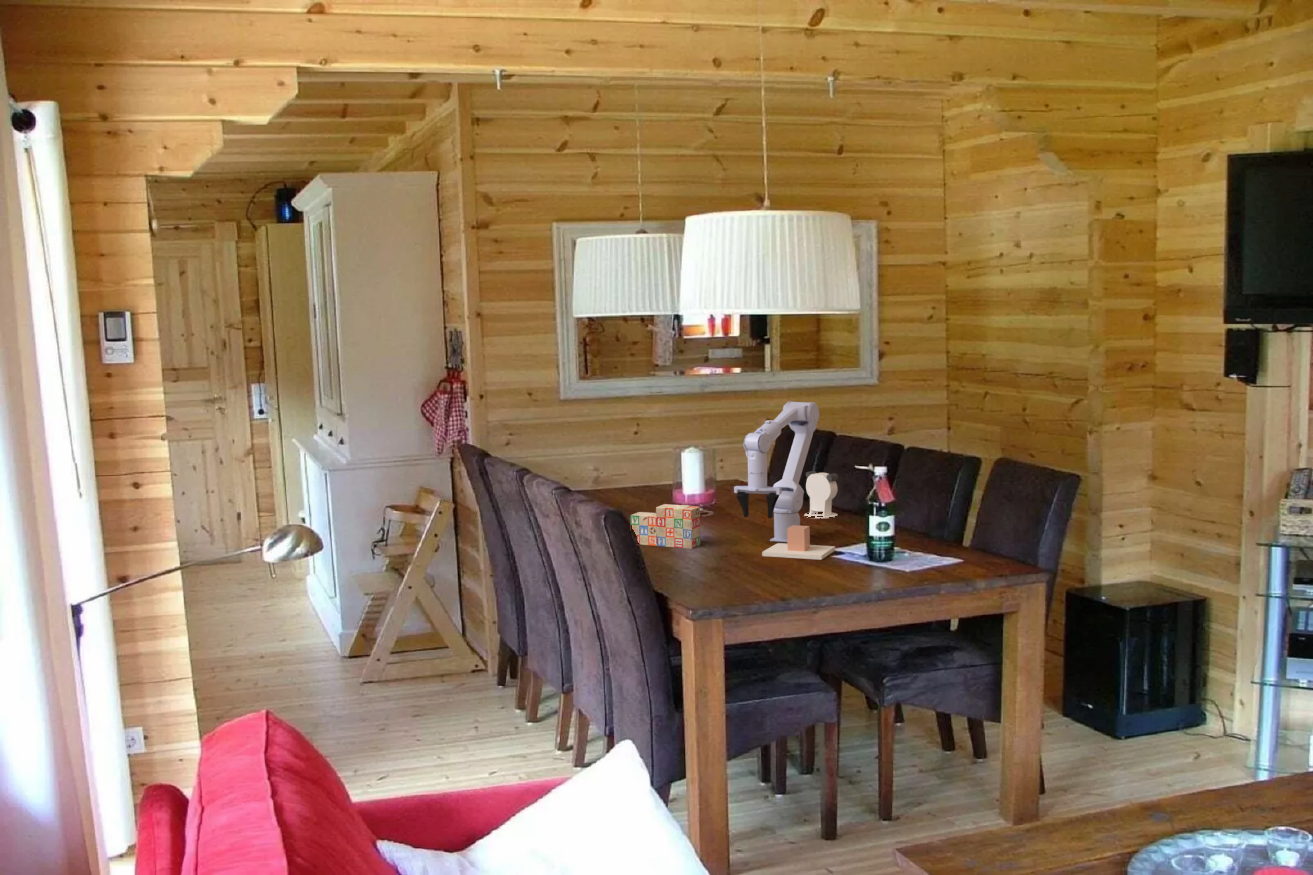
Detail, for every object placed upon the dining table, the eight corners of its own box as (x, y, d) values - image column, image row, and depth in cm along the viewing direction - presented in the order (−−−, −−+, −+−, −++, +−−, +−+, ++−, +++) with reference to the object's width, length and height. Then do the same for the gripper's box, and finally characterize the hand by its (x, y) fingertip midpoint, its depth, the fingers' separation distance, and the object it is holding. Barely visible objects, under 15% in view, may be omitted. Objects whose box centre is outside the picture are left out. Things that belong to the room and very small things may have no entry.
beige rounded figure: (845, 515, 434) (845, 472, 432) (824, 519, 426) (823, 476, 425) (819, 511, 443) (818, 469, 441) (797, 516, 435) (797, 473, 433)
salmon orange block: (793, 547, 376) (792, 525, 375) (809, 548, 374) (809, 526, 373) (787, 550, 371) (787, 528, 370) (804, 551, 369) (804, 529, 368)
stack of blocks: (630, 544, 394) (629, 505, 392) (640, 540, 399) (639, 502, 398) (692, 549, 384) (691, 509, 382) (701, 545, 389) (700, 505, 388)
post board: (777, 546, 383) (777, 525, 382) (835, 550, 375) (834, 528, 374) (762, 556, 370) (761, 533, 369) (821, 559, 362) (821, 536, 362)
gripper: (730, 473, 379) (731, 518, 380) (776, 475, 373) (776, 520, 374) (738, 470, 385) (739, 514, 387) (783, 472, 379) (784, 516, 381)
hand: (758, 517), depth 381 cm, fingers open, 7 cm apart
